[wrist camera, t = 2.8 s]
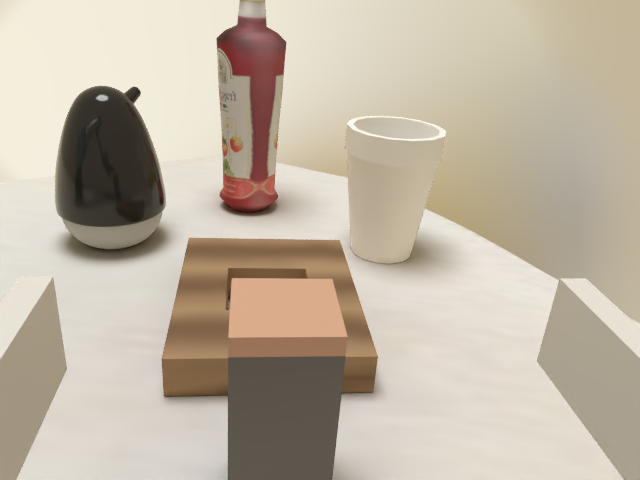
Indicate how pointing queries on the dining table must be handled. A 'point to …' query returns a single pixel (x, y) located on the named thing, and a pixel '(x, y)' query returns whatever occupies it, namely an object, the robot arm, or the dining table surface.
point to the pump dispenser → (108, 171)
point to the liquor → (250, 107)
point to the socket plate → (213, 317)
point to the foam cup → (389, 183)
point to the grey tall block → (284, 378)
